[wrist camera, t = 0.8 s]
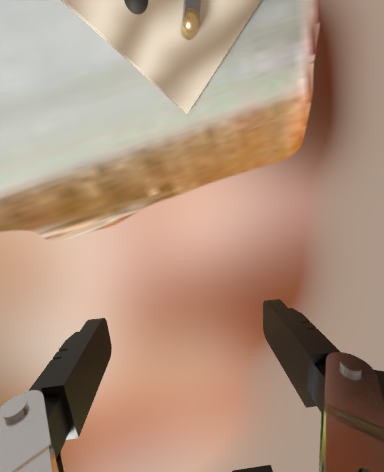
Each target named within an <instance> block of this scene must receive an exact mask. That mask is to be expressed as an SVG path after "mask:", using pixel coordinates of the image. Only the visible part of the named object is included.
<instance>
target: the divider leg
mask: <svg viewBox="0 0 384 472" xmlns="http://www.w3.org/2000/svg"><path fill="white" fill-rule="evenodd" d="M200 5H201V0H184V5H183V17H182V25H181V34H182V36H183V37H184V38H185V39H186V40H192V39H193V38H194V36H195V34H196V32H197V29H198V27H199V24H200Z"/></svg>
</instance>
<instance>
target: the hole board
mask: <svg viewBox="0 0 384 472" xmlns="http://www.w3.org/2000/svg"><path fill="white" fill-rule="evenodd" d="M62 1H63V2H64V3H65V4H66V5H67V6H68V7H69V8H70V9H72V10H73V11H74V12H75V13H76V14H77V15H78V16H79V17H80V18H81V19H83V20H84V21H85V22H86V23H87V24H88V25H89V26H90V27H91V28H92V29H94V30H95V31H96V32H97V33H98V34H99V35H100V36H101V37H102V38H104V39H105V40H106V41H107V42H108V43H109V44H110V45H111V46H112V47H113V48H115V49H116V50H117V51H118V52H119V53H120V54H121V55H122V56H123V57H124V58H126V59H127V60H128V61H129V62H130V63H131V64H132V65H133V66H134V67H135V68H137V69H138V70H139V71H140V72H141V73H142V74H143V75H144V76H145V77H147V78H148V79H149V80H150V81H151V82H152V83H153V84H154V85H155V86H156V87H158V88H159V89H160V90H161V91H162V92H163V93H164V94H165V95H166V96H167V97H169V98H170V99H171V100H172V101H173V102H174V103H175V104H176V105H177V106H179V107H180V108H181V109H182V110H183V111H184V112H185V113H186V114H187V113H188V112H189V111H190V109H191V108H192V106H193V105H194V103H195V101H196V100H197V98H198V97H199V95H200V94H201V92H202V91H203V89H204V88H205V86H206V85H207V83H208V81H209V80H210V78H211V77H212V75H213V74H214V72H215V71H216V69H217V68H218V66H219V65H220V63H221V61H222V60H223V58H224V57H225V55H226V54H227V52H228V51H229V49H230V48H231V46H232V45H233V43H234V41H235V40H236V38H237V37H238V35H239V34H240V32H241V31H242V29H243V28H244V26H245V25H246V23H247V21H248V20H249V18H250V17H251V15H252V14H253V12H254V11H255V9H256V8H257V6H258V5H259V3H260V1H261V0H201V5H200V24H199V27H198V29H197V32H196V34H195V36H194V38H193V39H192V40H186V39H185V38H184V37H183V36H182V34H181V25H182V17H183V5H184V0H62Z"/></svg>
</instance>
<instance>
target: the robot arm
mask: <svg viewBox="0 0 384 472" xmlns="http://www.w3.org/2000/svg"><path fill="white" fill-rule="evenodd" d="M263 330H264V335H265V338H266V340H267V342H268V344H269V345H270V347H271V349H272V350H273V352H274V354H275V355H276V357H277V359H278V360H279V362H280V364H281V366H282V367H283V369H284V371H285V372H286V374H287V376H288V378H289V379H290V381H291V383H292V384H293V386H294V388H295V389H296V391H297V393H298V394H299V396H300V398H301V399H302V401H303V403H304V405H305V406H306V407H313V406H317V407H318V408H319V410H320V411H321V429H320V455H319V472H384V371H377V370H373V368H372V367H371V366H370V365H369V364H367V363H366V362H365V361H363V360H362V359H360V358H358V357H356V356H354V355H351V354H347V353H343V352H340V351H339V350H338V349H337V348H336V347H335V346H334V345H333V344H332V343H331V342H330V341H329V340H328V339H327V338H326V337H325V336H324V335H323V334H322V333H321V332H320V331H319V330H318V329H316V327H315V326H314V325H313V324H312V323H310V321H309V320H308V319H307V318H306V317H305V316H304V315H303V314H302V313H300V312H298V311H296V310H295V309H293V308H289V309H288V308H287V307H286V306H285V304H284V303H283V302H282V301H281V300H279V299H276V300H268V301H264V303H263ZM110 357H111V341H110V336H109V331H108V326H107V322H106V319H105V318H100V319H92V320H88V321H87V322H86V323H85V325H84V326H83V328H82V329H81V330H80V332H76V333H74V334H73V335H72V336H71V337H69V338H68V339H67V340H66V341H65V342H64V344H63V345H62V346H61V348H60V349H59V352H57V353H56V354H55V356H54V357H53V360H51V361H50V362H49V364H48V365H47V367H46V368H45V369H44V371H43V372H42V373H41V375H40V376H39V378H38V379H37V380H36V381H35V383H34V384H33V385H32V387H31V388H30V390H29V391H27V392H24V393H21V394H19V395H17V396H15V397H14V398H12V399H11V400H9V401H8V402H6V403H5V404H4V405H2V406H1V407H0V472H65V468H64V463H63V458H62V454H61V449H62V447H63V445H64V443H65V440H67V439H73V438H79V435H80V433H81V430H82V428H83V425H84V422H85V420H86V418H87V415H88V412H89V410H90V407H91V405H92V402H93V400H94V397H95V395H96V392H97V390H98V387H99V385H100V382H101V380H102V377H103V375H104V372H105V370H106V367H107V365H108V362H109V360H110ZM232 472H273V471H272V468H271V466H270V465H267V466H260V467H254V468H247V469H241V470H234V471H232Z"/></svg>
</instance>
